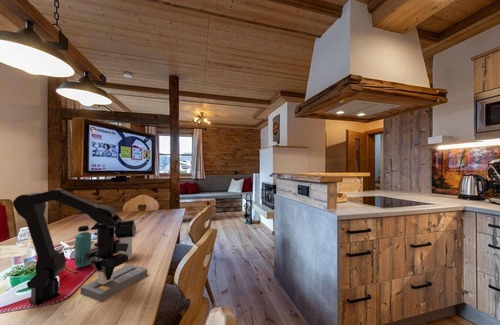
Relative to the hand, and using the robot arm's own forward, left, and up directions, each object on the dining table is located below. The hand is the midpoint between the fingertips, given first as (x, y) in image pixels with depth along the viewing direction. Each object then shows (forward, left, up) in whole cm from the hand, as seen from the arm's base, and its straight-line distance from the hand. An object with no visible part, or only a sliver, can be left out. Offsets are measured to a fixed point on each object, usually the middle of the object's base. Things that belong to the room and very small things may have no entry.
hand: (105, 278), depth 83 cm
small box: (+21, +21, -4) cm, 30 cm away
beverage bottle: (+7, +29, -4) cm, 30 cm away
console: (+4, 0, -4) cm, 6 cm away
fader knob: (0, 0, -2) cm, 2 cm away
